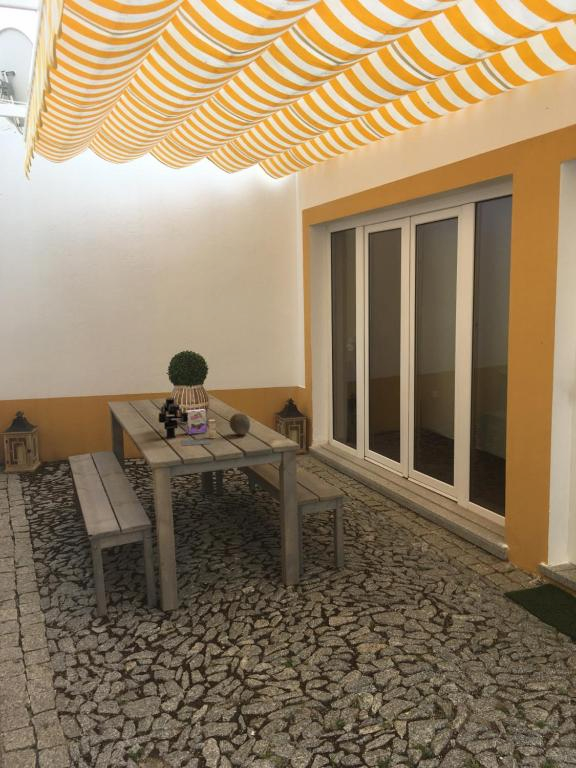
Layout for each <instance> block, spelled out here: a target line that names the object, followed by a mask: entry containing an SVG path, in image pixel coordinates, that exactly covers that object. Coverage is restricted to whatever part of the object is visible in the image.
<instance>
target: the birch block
mask: <svg viewBox="0 0 576 768" xmlns="http://www.w3.org/2000/svg"><path fill="white" fill-rule="evenodd" d="M208 435H209V436H208V437H209V438H208V439H210V438H213V439H217V421H216V419H208Z"/></svg>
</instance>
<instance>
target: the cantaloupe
mask: <svg viewBox="0 0 576 768" xmlns="http://www.w3.org/2000/svg"><path fill="white" fill-rule="evenodd" d="M228 423H229V427H230V429H231V431H233V433H235V434H237V435H239V436H245V435H246V434H248V432H250V428H251V421H250V420H249V417H248V416H247V415H246V414H245V413H244V414H243V413H235V414H233V415H232V416H231V417H230V419H229V422H228Z"/></svg>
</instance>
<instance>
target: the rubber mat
mask: <svg viewBox="0 0 576 768" xmlns="http://www.w3.org/2000/svg"><path fill="white" fill-rule="evenodd" d="M201 440H202V442H201ZM210 440H211V439H210V438H201V439H199V438H198V439H187V440H186V439H184V440H183V439H182V440H181V444H182V447H186V446H187V445H190V446H202V445H201V444H205V445H211V441H210ZM187 447H188V446H187Z"/></svg>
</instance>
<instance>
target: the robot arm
mask: <svg viewBox="0 0 576 768" xmlns="http://www.w3.org/2000/svg"><path fill="white" fill-rule="evenodd" d="M178 411H180V405H179V404H178V403H177V404H176V403H175V398H174V397H167V398H165V403H162V406H161V407H160V412H159V413H158V422H159V424H160V423H162V424H163V429H164V430H165V431H166V435H165V438H166V439H175V438H176V429H178V427H179V426H178V421H180V422H181V423H186V422H187V416H188V414H187V413H186V412H185V411H184V412H180V415H178Z"/></svg>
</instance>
